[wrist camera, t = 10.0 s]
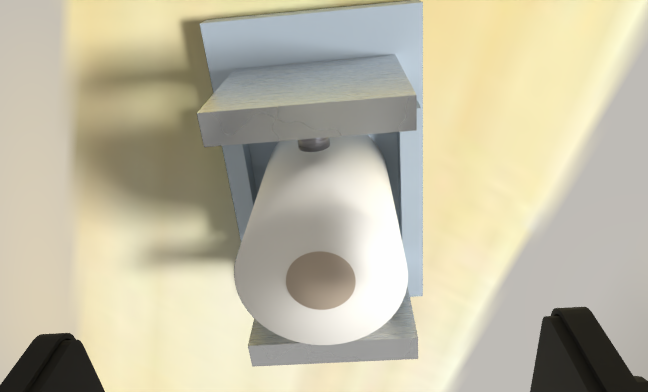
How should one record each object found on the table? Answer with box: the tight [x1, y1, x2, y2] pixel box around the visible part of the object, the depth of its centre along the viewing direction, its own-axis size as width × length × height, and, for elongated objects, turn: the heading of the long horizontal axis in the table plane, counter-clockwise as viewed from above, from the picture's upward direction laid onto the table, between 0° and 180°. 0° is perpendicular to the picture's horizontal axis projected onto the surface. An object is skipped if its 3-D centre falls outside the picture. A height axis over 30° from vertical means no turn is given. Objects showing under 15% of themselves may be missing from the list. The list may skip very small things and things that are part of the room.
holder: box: [200, 0, 423, 297], centre depth 20 cm, size 13×8×2 cm, turn 5°
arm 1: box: [197, 54, 417, 152], centre depth 16 cm, size 2×6×6 cm, turn 95°
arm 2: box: [248, 286, 418, 366], centre depth 19 cm, size 2×6×6 cm, turn 95°
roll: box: [234, 134, 408, 345], centre depth 17 cm, size 5×5×7 cm
